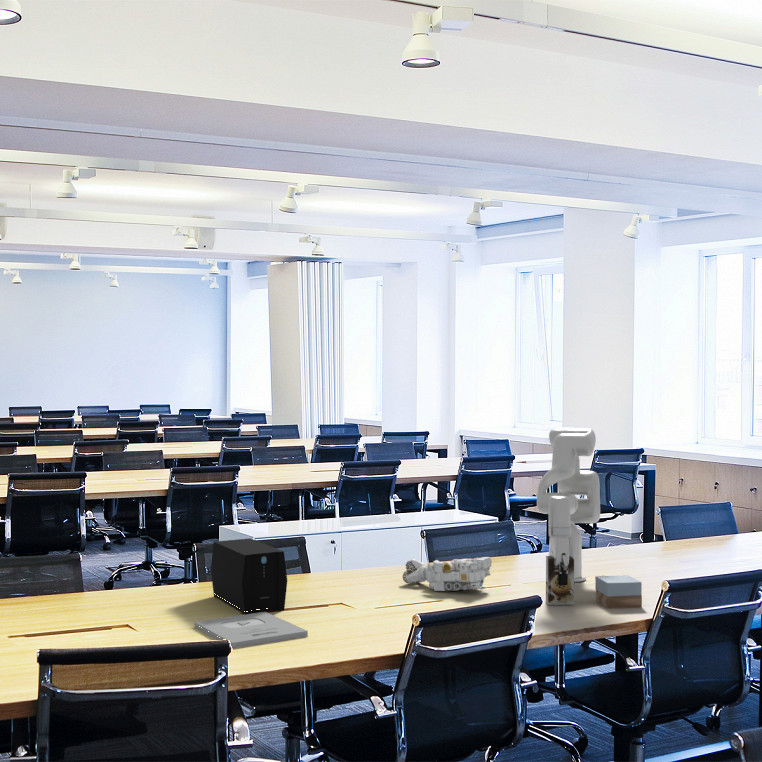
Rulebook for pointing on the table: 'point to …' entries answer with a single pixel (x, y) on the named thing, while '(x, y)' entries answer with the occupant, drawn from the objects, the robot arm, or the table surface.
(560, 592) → the coffee box
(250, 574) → the uninterruptible power supply
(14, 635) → the table surface
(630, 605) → the block lower
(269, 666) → the table surface
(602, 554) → the table surface
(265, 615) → the award plaque
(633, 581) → the block upper
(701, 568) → the table surface
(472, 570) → the spaceship
